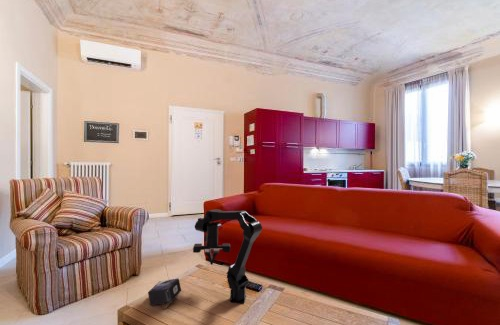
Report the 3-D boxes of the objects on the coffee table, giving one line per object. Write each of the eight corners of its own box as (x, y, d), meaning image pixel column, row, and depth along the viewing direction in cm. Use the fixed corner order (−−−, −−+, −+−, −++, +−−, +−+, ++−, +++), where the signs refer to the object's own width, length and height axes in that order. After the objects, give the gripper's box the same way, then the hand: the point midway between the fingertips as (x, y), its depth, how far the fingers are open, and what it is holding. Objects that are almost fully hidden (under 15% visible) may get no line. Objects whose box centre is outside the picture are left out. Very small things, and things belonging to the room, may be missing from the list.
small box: (168, 288, 111) (147, 291, 113) (171, 302, 111) (150, 306, 113) (178, 277, 122) (158, 280, 123) (181, 290, 121) (161, 293, 123)
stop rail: (178, 292, 124) (178, 289, 124) (165, 309, 110) (165, 305, 110) (175, 292, 124) (175, 289, 124) (161, 308, 110) (161, 305, 110)
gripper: (230, 229, 138) (229, 257, 139) (195, 229, 136) (194, 258, 137) (230, 235, 127) (230, 266, 128) (193, 236, 125) (192, 267, 126)
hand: (211, 264), depth 130 cm, fingers closed
